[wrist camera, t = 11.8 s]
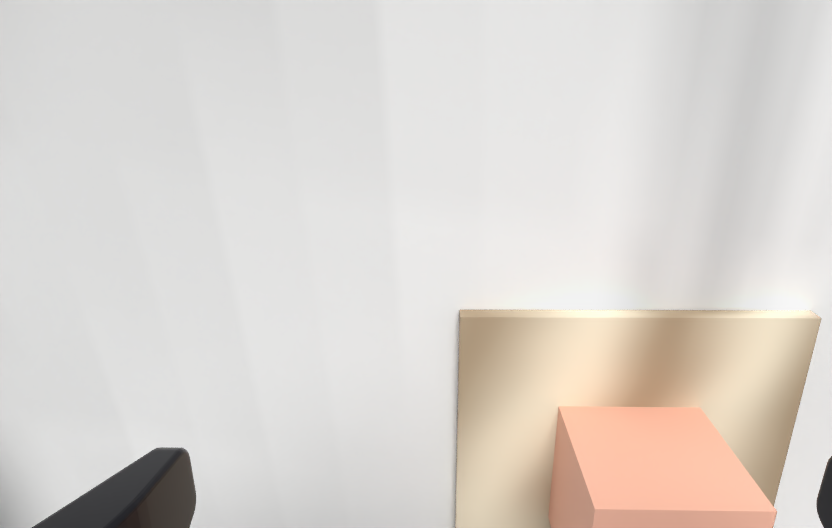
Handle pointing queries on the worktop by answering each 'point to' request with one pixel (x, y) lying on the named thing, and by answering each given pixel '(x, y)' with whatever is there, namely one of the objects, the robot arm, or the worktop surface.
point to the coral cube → (649, 472)
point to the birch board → (616, 391)
